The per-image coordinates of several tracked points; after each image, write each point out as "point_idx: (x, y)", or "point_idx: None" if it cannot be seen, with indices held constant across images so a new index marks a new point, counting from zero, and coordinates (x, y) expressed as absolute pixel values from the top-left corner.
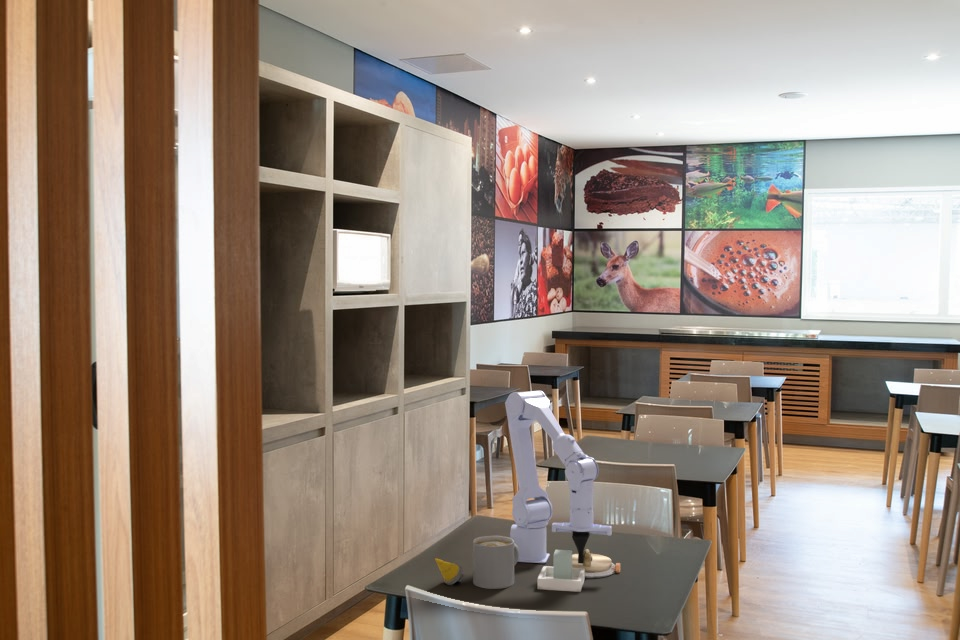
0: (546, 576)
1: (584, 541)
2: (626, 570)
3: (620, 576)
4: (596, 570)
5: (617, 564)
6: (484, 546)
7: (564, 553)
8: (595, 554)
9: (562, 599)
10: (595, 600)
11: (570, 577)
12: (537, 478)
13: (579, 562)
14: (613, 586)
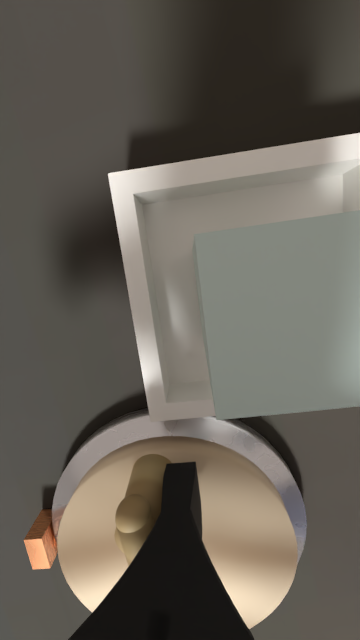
0: None
1: (108, 620)
2: None
3: (24, 467)
4: (108, 455)
5: (38, 550)
6: None
7: (276, 278)
8: None
9: (183, 18)
10: (14, 74)
11: (193, 256)
12: None
13: (187, 464)
14: (7, 329)
